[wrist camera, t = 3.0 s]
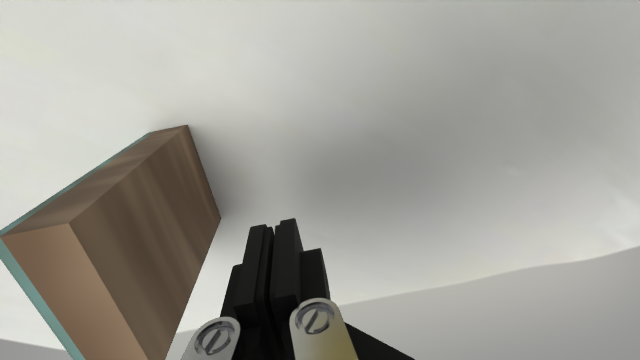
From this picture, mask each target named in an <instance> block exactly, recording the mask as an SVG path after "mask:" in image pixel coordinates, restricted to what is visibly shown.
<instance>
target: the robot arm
mask: <svg viewBox="0 0 640 360" xmlns="http://www.w3.org/2000/svg"><path fill="white" fill-rule="evenodd" d="M181 360H415V359H413V358H411V357H409V356H407V355H406V354H404V353H402V352H400V351H398V350H396V349H394V348H393V347H390V346H388V345H387V344H385V343H383V342H381V341H379V340H377V339H375V338H374V337H372V336H370V335H368V334H366V333H364V332H362V331H360V330H359V329H357V328H355V327H353V326H351V325H349V324H347V323H345V322H344V321H343V318H342V316H341V313H340V310H339V308H338V307H337V305H336V304H335V303H334V302H332V301H331V299H330V292H329V285H328V279H327V274H326V269H325V264H324V260H323V255H322V251H321V248H318V249H313V250H308V251H303V247H302V243H301V239H300V235H299V231H298V227H297V223H296V219H295V218H293V219H288V220H283V221H280V225H277V226H275V235H274V231H273V228H272V227H267V226H266V224H263V225H258V226H253V227H251V228H250V231H249V236H248V240H247V245H246V249H245V254H244V258H243V263H242V264H239V265H235V266H233V269H232V272H231V276H230V280H229V283H228V287H227V291H226V295H225V299H224V303H223V307H222V310H221V314H220V317H219V318H215V319H213V320H211V321H208V322H207V323H205V324H204V325H203V326H201V327H200V328H199V329H198V330H197V331H196V332H195V333H194V335H193V337H192V338H191V340H190V342H189V344H188V346H187V348H186V350H185V352H184V354H183V356H182V358H181Z"/></svg>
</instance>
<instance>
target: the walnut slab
mask: <svg viewBox="0 0 640 360" xmlns="http://www.w3.org/2000/svg"><path fill="white" fill-rule="evenodd" d="M220 220H221V217H220V214H219V211H218V209H217V206H216V203H215V200H214V198H213V195H212V192H211V189H210V186H209V184H208V181H207V178H206V175H205V172H204V170H203V167H202V164H201V161H200V159H199V156H198V153H197V150H196V147H195V145H194V142H193V139H192V136H191V133H190V131H189V128H188V125H184V126H179V127H174V128H169V129H164V130H159V131H154V132H149V133H147V134H146V135H144V136H143V137H141V138H140V139H138V140H137V141H135V142H134V143H132V144H131V145H129V146H128V147H126V148H125V149H123V150H122V151H120V152H119V153H117V154H116V155H114V156H112V157H111V158H109V159H108V160H106V161H105V162H103V163H102V164H100V165H99V166H97V167H96V168H94V169H93V170H91V171H90V172H88V173H87V174H85V175H84V176H82V177H81V178H79V179H78V180H76V181H75V182H73V183H72V184H70V185H69V186H67V187H65V188H64V189H62V190H61V191H59V192H58V193H56V194H55V195H53V196H52V197H50V198H49V199H47V200H46V201H44V202H43V203H41V204H40V205H38V206H37V207H35V208H34V209H32V210H31V211H29V212H28V213H26V214H25V215H23V216H22V217H20V218H18V219H17V220H15V221H14V222H12V223H11V224H9V225H8V226H6V227H5V228H3V229H2V230H0V259H1V260H2V262H3V263H4V265H5V266H6V267H7V269H8V270H9V271H10V273H11V274H12V276H13V277H14V278H15V280H16V281H17V283H18V284H19V285H20V287H21V288H22V289H23V291H24V292H25V294H26V295H27V296H28V298H29V299H30V301H31V302H32V303H33V305H34V306H35V307H36V309H37V310H38V312H39V313H40V314H41V316H42V317H43V319H44V320H45V321H46V323H47V324H48V325H49V327H50V328H51V330H52V331H53V332H54V334H55V335H56V336H57V338H58V339H59V341H60V342H61V343H62V345H63V346H64V348H65V349H66V350H67V352H68V353H69V354H70V356H71V357H72V359H73V360H165V358H166V356H167V353H168V351H169V348H170V345H171V343H172V341H173V338H174V335H175V333H176V331H177V328H178V326H179V323H180V321H181V318H182V316H183V313H184V311H185V308H186V306H187V303H188V301H189V298H190V296H191V293H192V291H193V288H194V285H195V283H196V280H197V278H198V275H199V273H200V270H201V268H202V265H203V263H204V260H205V258H206V255H207V253H208V250H209V248H210V245H211V243H212V240H213V238H214V235H215V233H216V230H217V228H218V225H219V223H220Z"/></svg>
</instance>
